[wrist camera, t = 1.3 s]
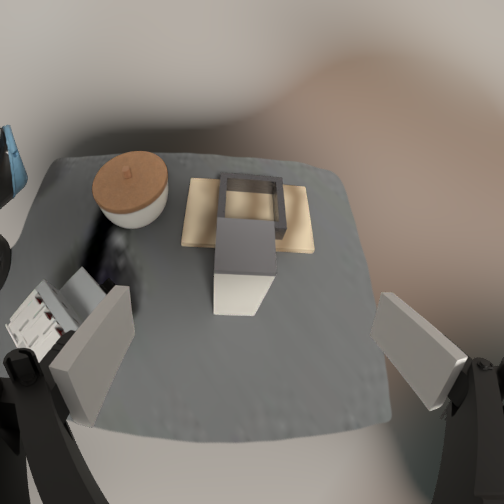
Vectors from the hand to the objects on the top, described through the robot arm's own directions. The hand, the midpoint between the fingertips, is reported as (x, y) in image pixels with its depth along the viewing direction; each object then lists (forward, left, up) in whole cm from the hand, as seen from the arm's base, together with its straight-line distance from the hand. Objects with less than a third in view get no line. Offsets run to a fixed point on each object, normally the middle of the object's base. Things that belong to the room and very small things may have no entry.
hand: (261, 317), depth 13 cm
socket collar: (-14, +21, -26) cm, 36 cm away
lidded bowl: (-29, +8, -27) cm, 41 cm away
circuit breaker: (-16, -11, -27) cm, 33 cm away
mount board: (-14, +21, -27) cm, 37 cm away
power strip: (-6, +8, -27) cm, 29 cm away
